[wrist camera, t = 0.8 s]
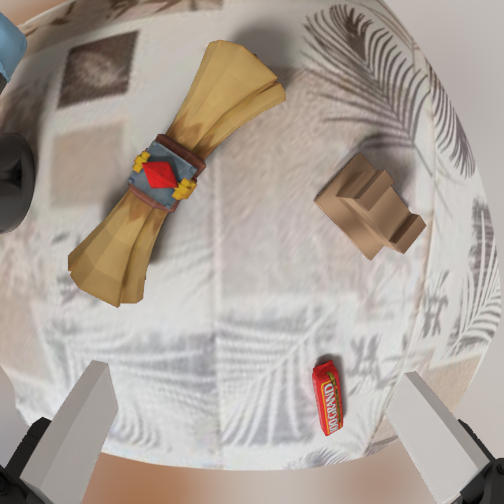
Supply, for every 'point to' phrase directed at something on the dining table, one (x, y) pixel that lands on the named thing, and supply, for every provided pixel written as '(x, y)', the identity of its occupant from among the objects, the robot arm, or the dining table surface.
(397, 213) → the ridge block
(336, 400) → the candy bar
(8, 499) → the robot arm
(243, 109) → the scroll
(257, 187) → the dining table surface
